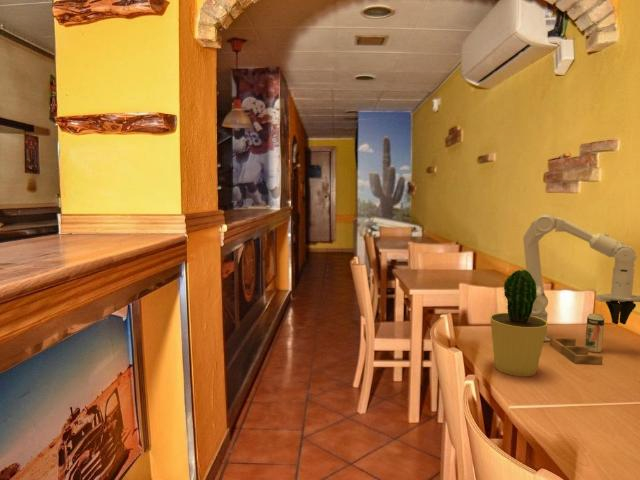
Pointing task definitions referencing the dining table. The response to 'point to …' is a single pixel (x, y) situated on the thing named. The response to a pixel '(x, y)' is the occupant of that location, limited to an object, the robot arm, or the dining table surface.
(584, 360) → the brown compartment tray
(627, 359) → the dining table surface
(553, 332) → the dining table surface
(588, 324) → the beer can
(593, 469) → the dining table surface
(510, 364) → the potted cactus
